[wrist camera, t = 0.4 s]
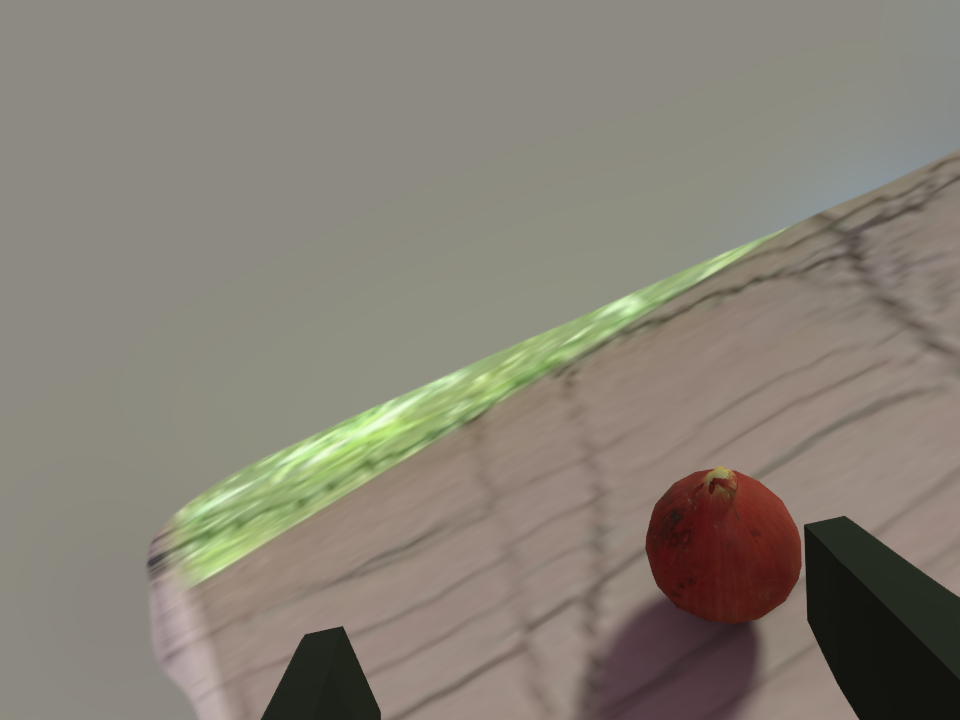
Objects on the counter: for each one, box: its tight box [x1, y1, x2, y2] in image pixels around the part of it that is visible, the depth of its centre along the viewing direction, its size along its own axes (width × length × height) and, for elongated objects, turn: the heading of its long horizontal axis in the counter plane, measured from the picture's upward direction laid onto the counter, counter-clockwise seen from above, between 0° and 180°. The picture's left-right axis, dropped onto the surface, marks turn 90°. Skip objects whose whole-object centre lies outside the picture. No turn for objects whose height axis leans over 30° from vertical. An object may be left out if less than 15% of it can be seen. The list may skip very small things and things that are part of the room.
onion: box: [646, 466, 801, 624], centre depth 30 cm, size 6×6×8 cm
